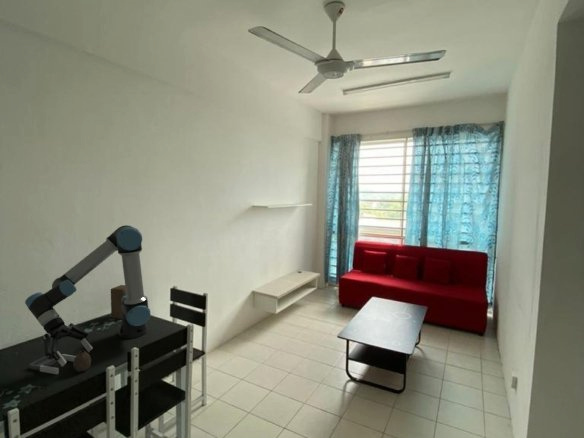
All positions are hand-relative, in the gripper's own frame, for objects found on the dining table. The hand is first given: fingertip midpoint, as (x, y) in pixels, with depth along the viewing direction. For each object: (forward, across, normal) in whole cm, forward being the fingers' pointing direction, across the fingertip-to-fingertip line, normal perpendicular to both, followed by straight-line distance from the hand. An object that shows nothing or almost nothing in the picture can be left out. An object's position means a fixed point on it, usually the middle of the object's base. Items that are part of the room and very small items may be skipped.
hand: (78, 357), depth 147 cm
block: (-17, -61, -26) cm, 68 cm away
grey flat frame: (-10, 0, -19) cm, 21 cm away
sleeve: (-4, -1, -13) cm, 13 cm away
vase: (+6, -1, -4) cm, 7 cm away
